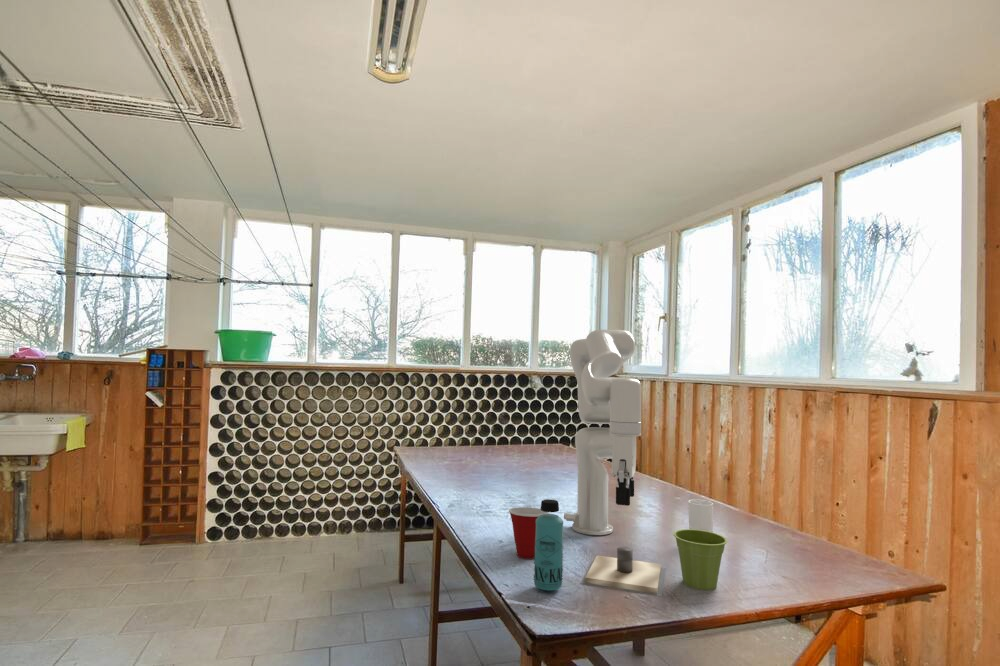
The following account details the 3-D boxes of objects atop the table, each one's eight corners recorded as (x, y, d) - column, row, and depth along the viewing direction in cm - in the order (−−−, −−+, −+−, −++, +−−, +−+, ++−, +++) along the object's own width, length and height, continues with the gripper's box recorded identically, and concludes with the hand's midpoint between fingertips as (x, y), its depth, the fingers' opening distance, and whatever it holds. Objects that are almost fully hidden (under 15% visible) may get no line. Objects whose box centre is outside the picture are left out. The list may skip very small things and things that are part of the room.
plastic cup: (552, 551, 145) (553, 506, 145) (542, 564, 134) (543, 516, 135) (514, 546, 148) (515, 502, 149) (502, 559, 138) (503, 512, 139)
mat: (580, 585, 121) (580, 583, 121) (593, 560, 138) (593, 558, 138) (662, 598, 115) (662, 596, 115) (665, 570, 132) (665, 568, 132)
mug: (711, 549, 148) (710, 506, 149) (686, 545, 152) (686, 502, 153) (716, 540, 157) (716, 499, 158) (693, 536, 161) (692, 496, 161)
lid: (585, 582, 122) (585, 555, 123) (596, 560, 137) (597, 535, 138) (657, 593, 117) (657, 565, 117) (661, 569, 132) (661, 543, 132)
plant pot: (723, 601, 115) (722, 548, 116) (667, 588, 121) (667, 538, 122) (731, 583, 125) (731, 534, 126) (680, 572, 131) (679, 525, 132)
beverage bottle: (531, 586, 121) (532, 496, 122) (560, 585, 121) (561, 496, 123) (535, 598, 114) (537, 504, 116) (566, 597, 115) (567, 503, 116)
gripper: (614, 425, 139) (614, 491, 137) (604, 431, 123) (604, 506, 121) (644, 426, 136) (644, 494, 135) (637, 433, 120) (637, 510, 119)
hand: (625, 500), depth 128 cm, fingers open, 9 cm apart
